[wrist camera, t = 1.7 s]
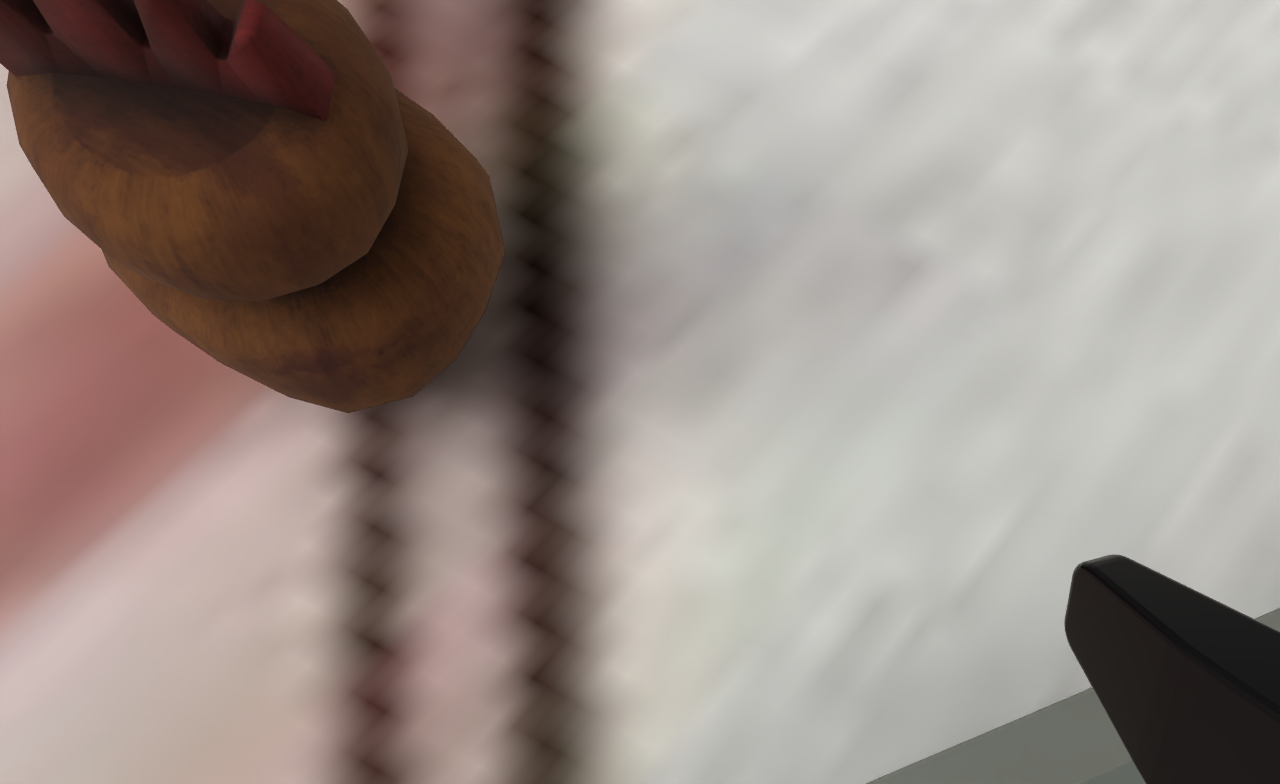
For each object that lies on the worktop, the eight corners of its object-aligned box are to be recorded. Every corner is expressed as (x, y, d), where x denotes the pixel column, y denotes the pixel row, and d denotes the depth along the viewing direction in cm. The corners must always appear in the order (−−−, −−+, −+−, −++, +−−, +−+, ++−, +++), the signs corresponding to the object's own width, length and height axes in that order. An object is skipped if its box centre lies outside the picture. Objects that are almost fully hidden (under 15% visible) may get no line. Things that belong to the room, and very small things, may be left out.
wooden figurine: (160, 320, 23) (-610, -81, 8) (303, 111, 24) (-151, -602, 9) (421, 474, 23) (133, 358, 8) (555, 257, 24) (521, -213, 9)
